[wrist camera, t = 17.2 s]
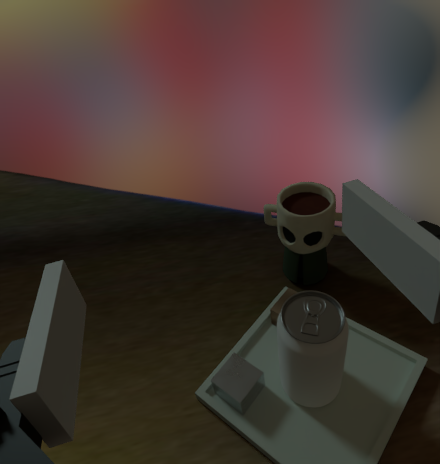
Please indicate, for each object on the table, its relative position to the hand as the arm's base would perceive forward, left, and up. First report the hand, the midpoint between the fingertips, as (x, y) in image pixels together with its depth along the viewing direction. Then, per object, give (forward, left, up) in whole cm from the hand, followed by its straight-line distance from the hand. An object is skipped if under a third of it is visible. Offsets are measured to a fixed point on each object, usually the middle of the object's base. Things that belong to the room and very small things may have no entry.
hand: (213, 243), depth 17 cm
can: (+10, 0, -29) cm, 30 cm away
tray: (+10, 0, -30) cm, 31 cm away
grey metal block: (+4, +6, -29) cm, 30 cm away
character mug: (+24, +9, -30) cm, 39 cm away
